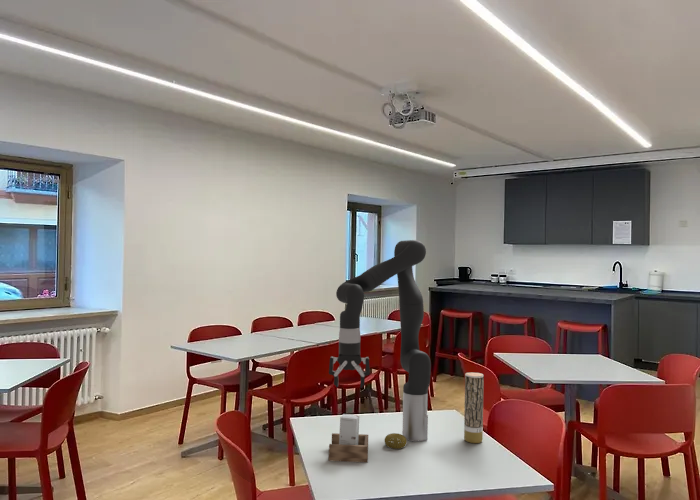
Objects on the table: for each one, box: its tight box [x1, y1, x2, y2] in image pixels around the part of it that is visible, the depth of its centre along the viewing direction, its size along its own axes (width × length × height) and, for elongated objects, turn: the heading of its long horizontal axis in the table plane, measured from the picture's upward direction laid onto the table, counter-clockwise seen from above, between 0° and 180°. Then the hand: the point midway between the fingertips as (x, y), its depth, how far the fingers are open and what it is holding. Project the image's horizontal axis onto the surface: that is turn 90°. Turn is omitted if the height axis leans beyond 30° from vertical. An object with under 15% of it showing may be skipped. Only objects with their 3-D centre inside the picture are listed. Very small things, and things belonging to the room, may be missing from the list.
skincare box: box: [339, 413, 361, 445], centre depth 181 cm, size 6×4×12 cm
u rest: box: [328, 432, 369, 463], centre depth 181 cm, size 13×12×5 cm
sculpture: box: [384, 432, 408, 450], centre depth 190 cm, size 8×4×8 cm
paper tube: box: [463, 372, 485, 444], centre depth 198 cm, size 7×7×25 cm
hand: (349, 386), depth 183 cm, fingers open, 8 cm apart
